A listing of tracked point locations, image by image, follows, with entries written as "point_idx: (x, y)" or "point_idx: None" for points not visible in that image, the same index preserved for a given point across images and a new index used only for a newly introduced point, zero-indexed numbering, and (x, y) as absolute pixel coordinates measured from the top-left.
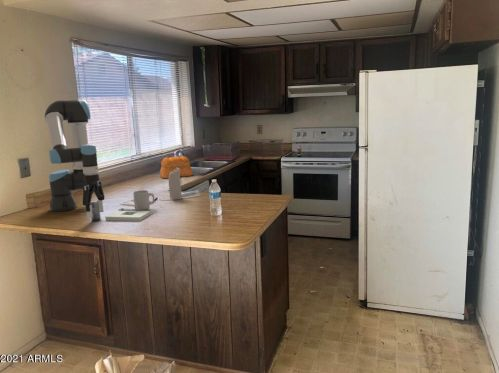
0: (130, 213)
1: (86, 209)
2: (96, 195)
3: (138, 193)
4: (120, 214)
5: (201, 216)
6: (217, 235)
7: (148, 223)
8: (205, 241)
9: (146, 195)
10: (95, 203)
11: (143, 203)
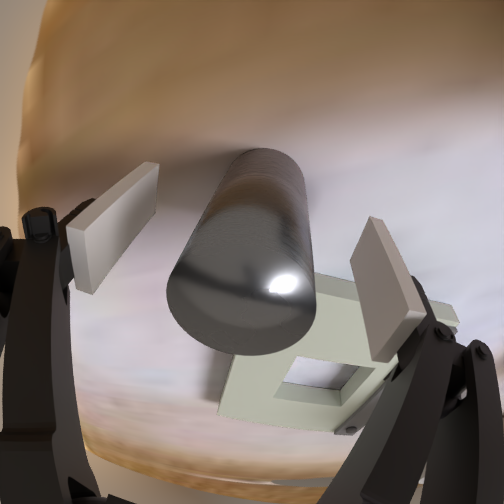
0: (361, 372)
1: (72, 216)
2: (399, 399)
3: (424, 475)
4: (303, 355)
5: (256, 473)
6: (115, 453)
7: (183, 413)
8: None
9: None
10: (185, 330)
11: None
